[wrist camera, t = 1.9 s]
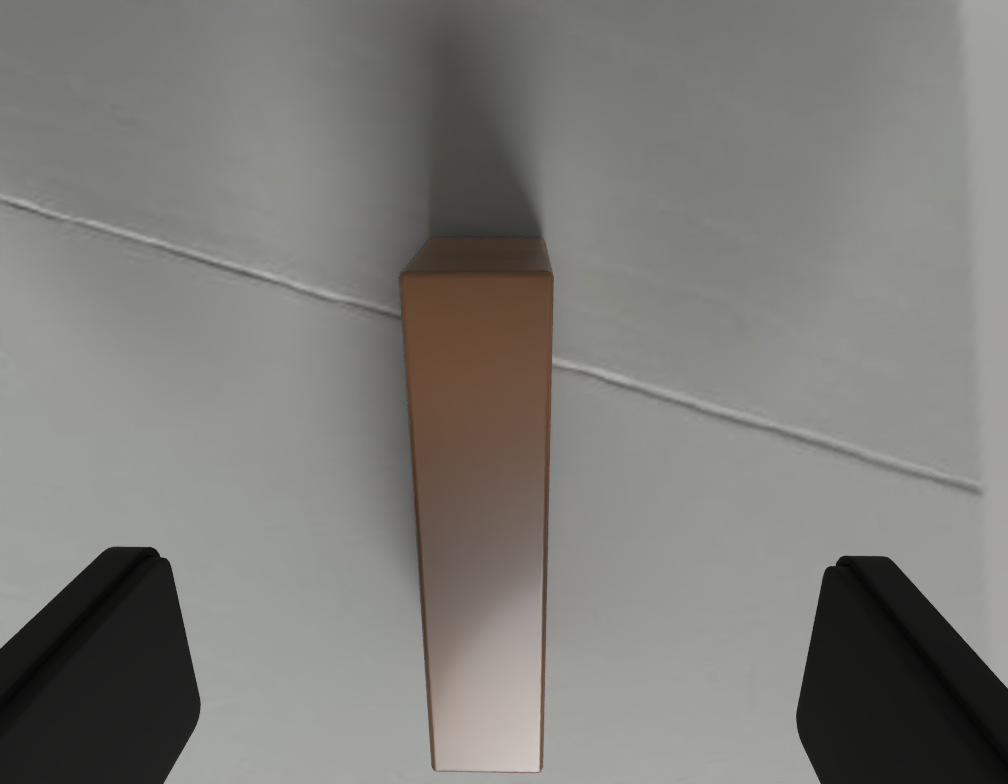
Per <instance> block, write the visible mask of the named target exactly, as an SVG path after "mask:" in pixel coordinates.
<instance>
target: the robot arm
mask: <svg viewBox="0 0 1008 784" xmlns="http://www.w3.org/2000/svg"><path fill="white" fill-rule="evenodd" d="M200 705H201V703H200V696H199V692H198V687H197V683H196V678H195V673H194V669H193V664H192V660H191V655H190V651H189V646H188V641H187V637H186V632H185V628H184V623H183V618H182V614H181V609H180V605H179V600H178V596H177V591H176V586H175V582H174V577H173V573H172V568H171V565H170V562H169V561H168V560H167V559H166V558H161V557H160V555H159V553H158V552H157V550H156V549H154V548H151V547H111V548H108V549H106V550H105V551H103V552H102V553H101V554H100V555H99V556H98V557H97V558H96V559H95V560H94V561H93V562H92V563H91V564H90V565H88V566H87V567H86V568H85V569H84V570H83V571H82V572H81V573H80V574H79V575H78V576H77V577H76V578H75V579H74V580H73V581H72V582H70V583H69V584H68V585H67V586H66V587H65V588H64V589H63V590H62V591H61V592H60V593H59V594H58V595H57V596H56V597H55V598H54V599H53V600H51V601H50V602H49V603H48V604H47V605H46V606H45V607H44V608H43V609H42V610H41V611H40V612H39V613H38V614H37V615H36V616H35V617H33V618H32V619H31V620H30V621H29V622H28V623H27V624H26V625H25V626H24V627H23V628H22V629H21V630H20V631H19V632H18V633H17V634H16V635H14V636H13V637H12V638H11V639H10V640H9V641H8V642H7V643H6V644H5V645H4V646H3V647H2V648H1V649H0V784H163V783H164V782H165V780H166V778H167V776H168V775H169V773H170V771H171V769H172V768H173V766H174V764H175V762H176V761H177V759H178V757H179V755H180V754H181V752H182V750H183V748H184V747H185V745H186V743H187V741H188V740H189V738H190V736H191V734H192V733H193V731H194V729H195V727H196V725H197V722H198V719H199V714H200ZM796 721H797V729H798V733H799V737H800V740H801V742H802V745H803V747H804V749H805V751H806V753H807V755H808V757H809V759H810V762H811V764H812V766H813V768H814V770H815V772H816V774H817V777H818V779H819V781H820V783H821V784H1008V688H1007V687H1006V686H1005V685H1004V684H1003V683H1002V682H1001V681H1000V680H999V678H998V677H997V676H996V675H995V674H994V673H993V672H992V671H991V670H990V668H989V667H988V666H987V665H986V664H985V663H984V662H983V661H982V660H981V658H980V657H979V656H978V655H977V654H976V653H975V652H974V651H973V650H972V648H971V647H970V646H969V645H968V644H967V643H966V642H965V641H964V640H963V638H962V637H961V636H960V635H959V634H958V633H957V632H956V631H955V630H954V628H953V627H952V626H951V625H950V624H949V623H948V622H947V621H946V620H945V618H944V617H943V616H942V615H941V614H940V613H939V612H938V611H937V610H936V608H935V607H934V606H933V605H932V604H931V603H930V602H929V601H928V600H927V598H926V597H925V596H924V595H923V594H922V593H921V592H920V591H919V590H918V588H917V587H916V586H915V585H914V584H913V583H912V582H911V581H910V580H909V578H908V577H907V576H906V575H905V574H904V573H903V572H902V571H901V570H900V568H899V567H898V566H897V565H896V564H895V563H894V562H893V561H892V560H891V559H889V558H888V557H884V556H843V557H840V558H839V560H838V561H837V563H836V566H830V567H827V569H826V570H825V572H824V575H823V580H822V585H821V590H820V595H819V600H818V605H817V610H816V616H815V621H814V626H813V631H812V636H811V641H810V646H809V651H808V656H807V661H806V666H805V672H804V677H803V682H802V687H801V692H800V697H799V702H798V707H797V714H796Z"/></svg>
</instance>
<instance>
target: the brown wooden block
mask: <svg viewBox="0 0 1008 784" xmlns="http://www.w3.org/2000/svg"><path fill="white" fill-rule="evenodd" d="M553 281H554V277H553V273H552V269H551V264H550V260H549V256H548V252H547V248H546V243H545V241H544V239H542V238H540V237H526V238H431V239H429V240H428V241H427V242H426V244H425V245H424V246H423V247H422V248H421V249H420V251H419V252H418V253H417V254H416V255H415V256H414V257H413V259H412V260H411V261H410V262H409V263H408V264H407V266H406V267H405V268H404V269H403V270H402V271H401V273H400V276H399V287H400V302H401V317H402V332H403V347H404V362H405V377H406V392H407V407H408V422H409V437H410V452H411V467H412V482H413V496H414V511H415V526H416V541H417V556H418V571H419V586H420V601H421V616H422V631H423V646H424V661H425V676H426V691H427V706H428V720H429V735H430V750H431V765H432V768H433V770H434V771H439V772H502V773H539V772H541V770H542V768H543V742H544V696H545V650H546V604H547V558H548V511H549V465H550V419H551V373H552V327H553Z"/></svg>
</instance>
